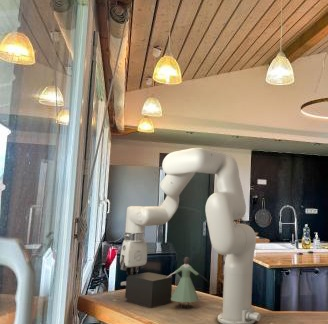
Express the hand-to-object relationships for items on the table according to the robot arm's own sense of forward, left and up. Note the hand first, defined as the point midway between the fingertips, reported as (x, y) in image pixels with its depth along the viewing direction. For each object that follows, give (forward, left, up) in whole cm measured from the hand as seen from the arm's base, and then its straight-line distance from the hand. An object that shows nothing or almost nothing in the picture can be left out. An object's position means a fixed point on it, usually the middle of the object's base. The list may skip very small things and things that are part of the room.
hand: (131, 283), depth 151 cm
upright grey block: (-10, 0, -5) cm, 12 cm away
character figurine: (-26, -4, -5) cm, 27 cm away
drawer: (-6, 0, -4) cm, 7 cm away
